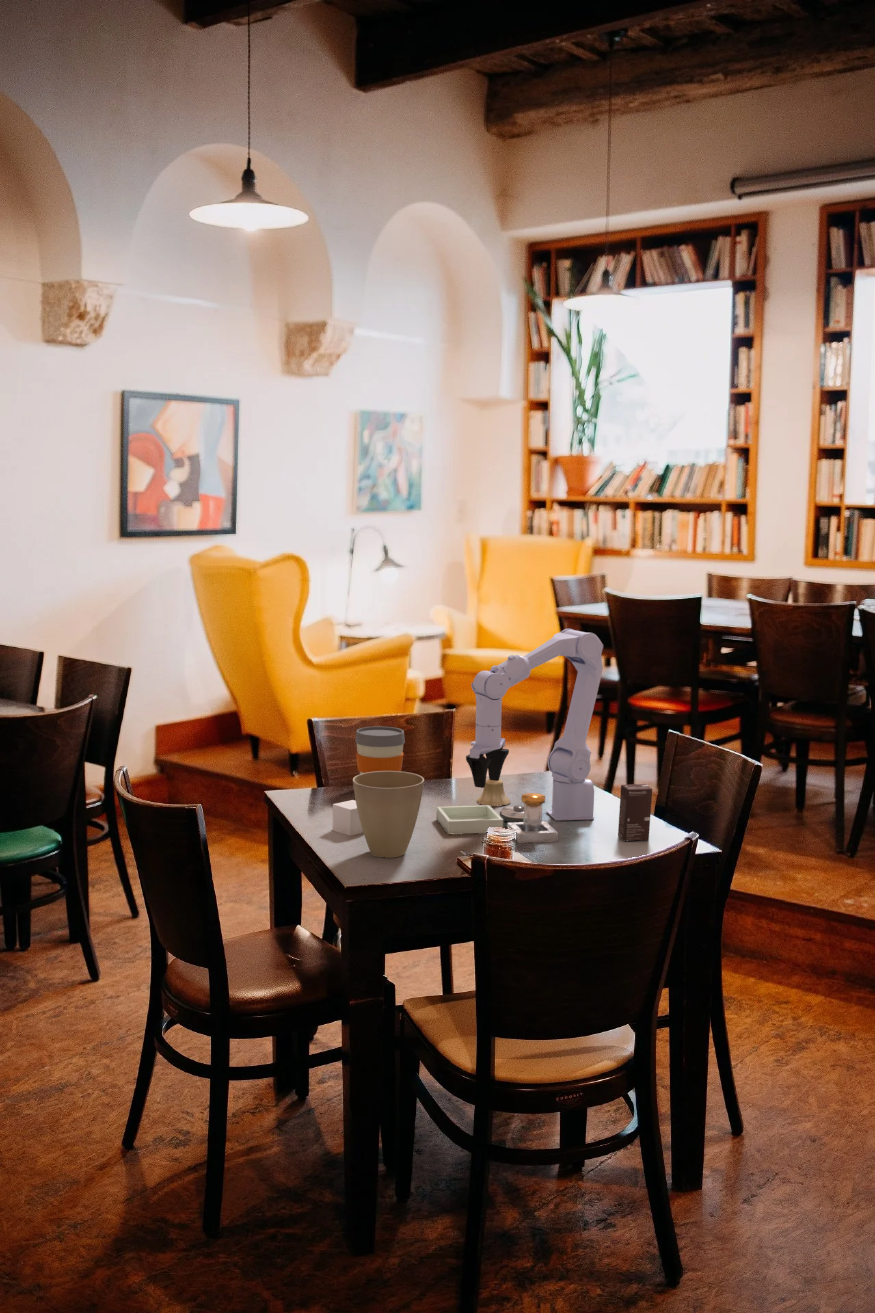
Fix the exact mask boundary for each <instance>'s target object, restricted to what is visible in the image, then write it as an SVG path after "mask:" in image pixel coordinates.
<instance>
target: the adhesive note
mask: <svg viewBox="0 0 875 1313" xmlns="http://www.w3.org/2000/svg"><path fill="white" fill-rule="evenodd" d="M332 831H334V832H337V833H341V834H342V835H343V834H344V835H347V836H351V837H352V836H354V835H358V834H359V835H360V834H362V833H363V829H362V826H361V822H360V818H359V814H358V810H357V805H356V800H354V799H351V800H346V801H342V802H337V803H333V804H332ZM363 834H364V833H363Z"/></svg>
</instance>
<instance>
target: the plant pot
mask: <svg viewBox="0 0 875 1313" xmlns="http://www.w3.org/2000/svg"><path fill="white" fill-rule="evenodd" d="M352 784H353V785H352V786H353V792H354V798H355V801H356V805H357V810H358V814H359V818H360V822H361V826H362V829H363V835H364V836H363V837H364V838H365V841H366V844H367V847H368V850H369V852H370V854H371V855H373V856H374V857H377V858H382V857H385V858H384V859H389V858H390V859H391V858H397V857H402V856H404V855H405V854H406V852H407V851H408V847H409V845H410V842H411V839H412V836H413V834H414V829H415V827H416V823H417V819H418V816H419V812H420V808H421V804H422V797H423V791H424V785H425V778H424V777H423V776H421V775H420V774H417V773H413V772H407V771H402V770H401V771H376V772H368V773H363V774H360V773H359V774H358V775H355V776H354V777H353V778H352Z"/></svg>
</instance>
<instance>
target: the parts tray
mask: <svg viewBox="0 0 875 1313" xmlns="http://www.w3.org/2000/svg"><path fill="white" fill-rule="evenodd" d="M492 807H493V806H490V805H480V804H478V805H456V806H454V805H453V806H436V808H435V810H436V812H435V814H436V815H435V816H436V818H435V820H436V819H437V820H438V821H437V820H436V821H437V822H438V823H439V822H440V824H441V825H442V826H441V825H440V824H439V825H440V826H441V828H442V827H443V828H444V829H445V830H444V829H443V828H442V829H443V830H444V831H445V833H446V832H447V833H448V834H450V833H479V834H486V833H485V832H486V831H487V829H488V828H489V827H503V828H504V825H503V819H502V818H501V817H500V814H499V813H498V812H497V811H496V810H495V809H494V808H492ZM447 833H446V834H447ZM448 834H447V835H448Z"/></svg>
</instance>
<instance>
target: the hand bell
mask: <svg viewBox="0 0 875 1313" xmlns="http://www.w3.org/2000/svg"><path fill="white" fill-rule="evenodd" d="M482 790H483V791H482V793H481V794H480V796H479V797H478V798H477V800H476V803H477V804H478V803H480V804H482V805H491V807H503V806H502V805H505V806H509V805H510V804H511V800H510V799H509V797H508V796H507V795H506V792H505V789H504V782H503V780H502V779H500V778H499V781H494V780H490V779H489V778H488V779H486V783H485V787H484V788H483V789H482ZM480 804H479V805H480ZM497 805H498V806H497ZM500 805H501V806H500Z"/></svg>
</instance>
